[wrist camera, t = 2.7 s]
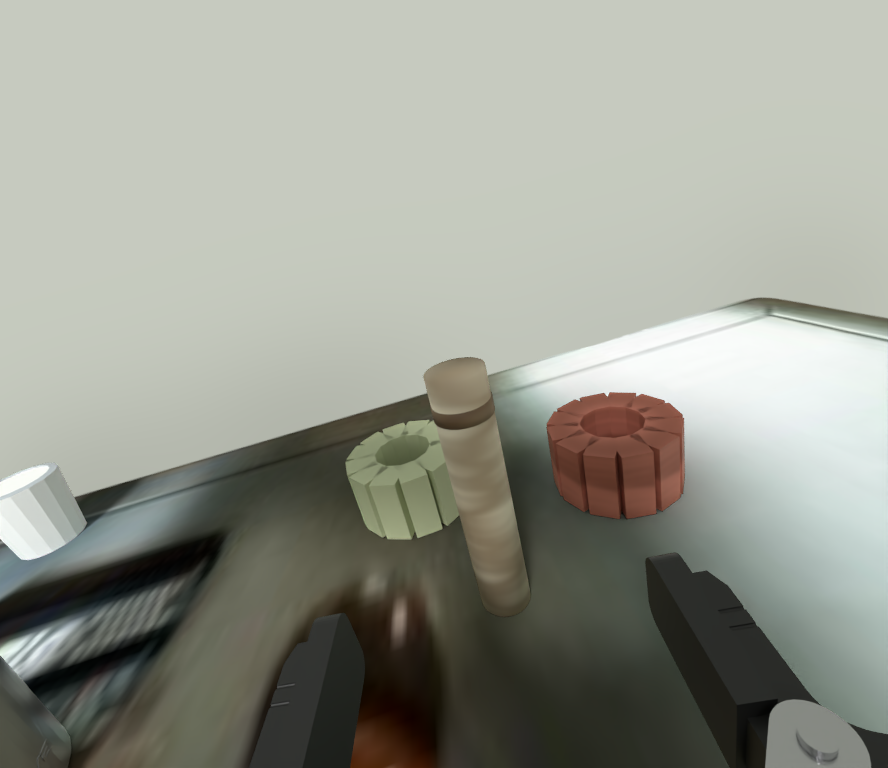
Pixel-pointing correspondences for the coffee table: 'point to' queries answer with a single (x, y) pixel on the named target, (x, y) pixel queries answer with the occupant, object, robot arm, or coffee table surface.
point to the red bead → (618, 454)
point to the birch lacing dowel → (479, 481)
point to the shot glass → (38, 511)
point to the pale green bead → (402, 481)
